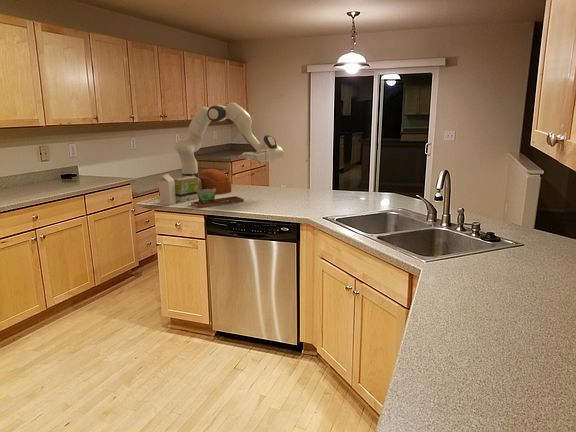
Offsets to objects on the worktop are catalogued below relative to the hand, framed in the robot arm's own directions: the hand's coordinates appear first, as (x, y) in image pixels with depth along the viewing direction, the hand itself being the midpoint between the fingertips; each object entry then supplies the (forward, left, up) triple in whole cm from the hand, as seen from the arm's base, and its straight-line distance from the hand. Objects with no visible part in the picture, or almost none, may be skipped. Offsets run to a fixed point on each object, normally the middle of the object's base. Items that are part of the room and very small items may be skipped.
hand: (242, 157), depth 275 cm
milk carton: (-18, -45, -28) cm, 56 cm away
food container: (0, -26, -28) cm, 38 cm away
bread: (-44, -2, -28) cm, 52 cm away
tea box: (-24, -31, -28) cm, 48 cm away
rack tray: (0, -19, -28) cm, 34 cm away
